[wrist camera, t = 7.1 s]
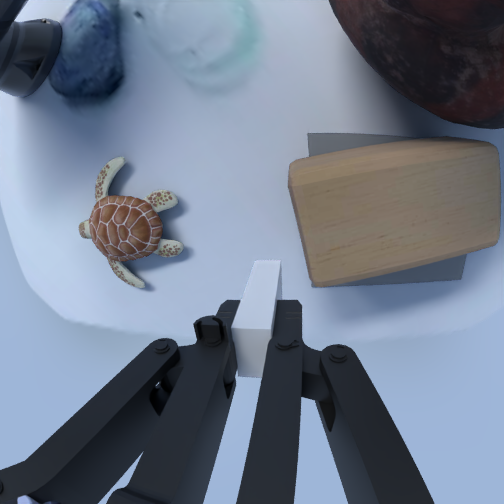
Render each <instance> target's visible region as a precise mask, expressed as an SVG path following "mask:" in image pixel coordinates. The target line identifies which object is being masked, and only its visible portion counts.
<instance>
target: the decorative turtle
mask: <svg viewBox="0 0 504 504" xmlns="http://www.w3.org/2000/svg"><path fill="white" fill-rule="evenodd" d="M124 164H125V159H124V157H117V158H114V159H112V160H110V161H109V162H108V163H107V164H106V165H105V166H104V167H103V168H102V170H101V171H100V173H99V174H98V177H97V180H96V188H95V198H96V202H97V203H96V205H95V206H94V208H93V210H92V213H91V216H90V218H89V220H86V221H84V222H82V223H80V224H79V233H80V235H81V237H82V238H87V239H89V238H90V239H91V238H92V241H93V242H94V244H95V246H96V247H97V248H98V249H99V250H100V251H101V252H102V253H103V255H105V256H106V257H107V259H108V262H109V264H110V266H111V268H112V270H113V272H114V273H115V274H116V275H117V276H118V277H119V278H120V279H121V280H123V281H124V282H126V283H127V284H129V285H131V286H134V287H138V288H144V287H145V282H144V281H143V280H141V279H139V278H137V277H136V276H135V275H134V274H132V273H131V272H130V271H129V270H128V269H127V268H126V267H125V266H124V265H123V264H122V262H121V261H128V260H136V259H138V258H143V257H144V256H148V255H150V254H152V253H155V254H157V255H160V256H162V257H167V258H168V257H174V256H177V255H179V254H180V253H181V252H182V250H183V248H184V247H183V244H182V243H181V242H178V241H175V240H166V239H162V238H161V236H162V232H163V228H162V227H163V224H162V222H161V219H160V217H159V215H158V214H157V213H158V212H160V211H163V210H167V209H170V208H172V207H174V206H176V205H177V203H178V199H177V197H176V195H175V194H174V193H172V192H170V191H167V190H157V191H154V192H152V193H150V194H149V195H148V196H146V197H145V198H144V199H143V200H141V199H139V198H134V197H132V196H117V195H113V196H108V189H109V186H110V184H111V182H112V180H113V178H114V176H115V175H116V173H117V172H118V171H119V170H120V169H121V168H122V167H123V166H124Z"/></svg>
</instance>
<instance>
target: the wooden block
mask: <svg viewBox="0 0 504 504" xmlns="http://www.w3.org/2000/svg"><path fill="white" fill-rule="evenodd" d="M288 188H289V192H290V196H291V200H292V204H293V208H294V212H295V216H296V220H297V225H298V229H299V233H300V237H301V242H302V246H303V251H304V255H305V260H306V264H307V269H308V274H309V278H310V280H311V281H312V282H313V284H314V285H315V286H316V287H327V286H332V285H337V284H342V283H347V282H352V281H356V280H361V279H366V278H370V277H375V276H379V275H384V274H388V273H392V272H397V271H401V270H405V269H409V268H414V267H418V266H422V265H426V264H430V263H433V262H437V261H441V260H445V259H449V258H452V257H456V256H460V255H463V254H467V253H471V252H474V251H478V250H481V249H484V248H488V247H491V246H494V245H495V244H496V243H497V242H498V239H499V234H500V216H501V180H500V163H499V153H498V150H497V148H496V147H495V146H494V145H492V144H491V143H489V142H485V141H479V140H472V139H465V138H458V137H449V136H443V137H432V138H423V139H414V140H406V141H398V142H391V143H384V144H377V145H371V146H365V147H359V148H353V149H347V150H342V151H336V152H331V153H326V154H321V155H316V156H312V157H307V158H302V159H298V160H295V161H294V162H292V163H291V164H290V166H289V174H288Z"/></svg>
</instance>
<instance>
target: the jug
mask: <svg viewBox="0 0 504 504" xmlns="http://www.w3.org/2000/svg"><path fill="white" fill-rule="evenodd" d="M329 2H330V5H331V7H332V10H333V12H334V14H335V16H336V18H337V19H338V21H339V23H340V25H341V26H342V28H343V30H344V31H345V33H346V34H347V36H348V37H349V39H350V40H351V42H352V43H353V44H354V46H355V47H356V49H357V50H358V51H359V53H360V54H361V55H362V57H363V58H364V59H365V60H366V61H367V63H368V64H369V65H370V66H371V67H372V68H373V69H374V70H375V71H376V72H377V73H378V74H379V75H381V76H382V77H383V78H384V79H385V80H386V81H387V82H388V84H389V85H390V86H392V87H393V88H394V89H396V90H397V91H398V92H399V93H401V94H402V95H404V96H405V97H407V98H408V99H410V100H411V101H412V102H414V103H415V104H417V105H419V106H421V107H423V108H424V109H426V110H428V111H429V112H431V113H433V114H435V115H437V116H438V117H440V118H442V119H444V120H447V121H450V122H453V123H457V124H462V125H467V126H471V127H477V128H486V129H499V128H504V0H329Z"/></svg>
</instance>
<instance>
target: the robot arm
mask: <svg viewBox="0 0 504 504" xmlns="http://www.w3.org/2000/svg"><path fill="white" fill-rule="evenodd" d="M27 2H28V0H0V90H1V91H3V92H5V93H8V94H10V95H12V96H16V97H18V96H28V95H30V94H32V93H33V92H34V91H35V90H36V89H37V88H38V87H39V86H40V85H41V84H42V82H43V81H44V80H45V78H46V76H47V75H48V73H49V71H50V69H51V68H52V66H53V63H54V61H55V59H56V56H57V54H58V50H59V47H60V43H61V36H62V31H61V26H60V24H59V23H58V22H57V21H54V20H51V19H37V20H30V21H24V22H15V21H14V20H15V19H16V17H17V16H18V14H19V13H20V11H21V10H22V9H23V7H24V6H25V4H26V3H27ZM194 329H195V333H196V337H197V341H196V343H195V344H193V345H188V346H179V347H178V345H177V343H176V341H174V340H172V339H169V338H162V339H158V340H155V341H153V342H152V343H150V344H149V345H148V346H147V347H146V348H145V349H144V350H143V351H142V352H141V353H140V354H139V355H138V356H136V357H135V358H134V359H133V360H132V361H131V362H130V363H129V364H128V365H127V366H126V367H125V368H124V369H122V370H121V371H120V373H118V374H117V375H116V376H115V377H114V378H113V379H112V380H111V381H110V382H109V383H108V384H106V385H105V386H104V387H103V388H102V389H101V390H100V391H99V392H98V393H97V394H96V395H95V396H94V397H93V398H91V399H90V400H89V401H88V402H87V403H86V404H85V405H84V406H83V407H82V408H81V409H80V410H79V411H78V412H76V413H75V414H74V415H73V416H72V417H71V418H70V419H69V420H68V421H67V422H66V423H65V424H64V425H63V426H62V427H60V428H59V429H58V430H57V431H56V432H55V433H54V434H53V435H52V436H51V437H50V438H49V439H48V440H47V441H45V443H43V445H41V446H40V447H39V448H38V449H37V450H36V451H35V452H34V453H33V454H32V455H31V456H30V457H28V458H27V459H26V460H25V461H23V462H21V463H18V464H16V465H13V466H10V467H8V468H5V469H2V470H0V504H98V503H99V502H100V501H101V499H102V498H103V497H104V496H105V495H106V494H107V493H108V492H109V491H110V489H111V488H112V487H113V486H114V485H115V484H116V482H117V481H118V480H119V479H120V478H121V477H122V476H123V475H124V473H125V472H126V471H127V470H128V469H129V467H130V466H131V465H132V464H133V463H134V462H135V460H136V459H137V458H138V457H139V456H140V455H141V453H142V452H143V454H142V456H141V458H140V460H139V462H138V464H137V466H136V469H135V471H134V473H133V475H132V477H131V479H130V482H129V483H128V485H127V486H126V487H124V488H120V489H117V490H115V491H114V492H113V493H112V494H111V496H110V497H109V499H108V501H107V503H106V504H203V502H204V498H205V495H206V491H207V488H208V484H209V481H210V478H211V474H212V471H213V467H214V464H215V460H216V457H217V453H218V450H219V446H220V442H221V439H222V435H223V431H224V428H225V424H226V421H227V417H228V413H229V409H230V406H231V402H232V399H233V395H234V391H235V387H236V379H235V375H236V371H238V376H242V377H256V378H262V380H261V386H260V391H259V397H258V402H257V407H256V413H255V418H254V423H253V428H252V433H251V438H250V443H249V448H248V452H247V457H246V462H245V466H244V471H243V476H242V480H241V485H240V489H239V494H238V498H237V502H236V504H294V496H295V486H296V485H295V484H296V475H297V462H298V449H299V434H300V415H301V397H304V398H308V399H312V400H315V403H316V406H317V409H318V412H319V415H320V418H321V421H322V424H323V427H324V430H325V433H326V436H327V439H328V442H329V445H330V448H331V451H332V454H333V457H334V460H335V464H336V467H337V470H338V473H339V476H340V479H341V482H342V485H343V488H344V491H345V495H346V498H347V501H348V504H434V501H433V499H432V497H431V495H430V493H429V491H428V489H427V486H426V485H425V482H424V480H423V478H422V476H421V474H420V472H419V470H418V468H417V466H416V464H415V462H414V460H413V458H412V456H411V454H410V452H409V450H408V448H407V446H406V444H405V442H404V441H403V439H402V437H401V435H400V433H399V431H398V429H397V427H396V425H395V424H394V422H393V420H392V418H391V416H390V414H389V412H388V411H387V408H386V407H385V405H384V403H383V401H382V399H381V398H380V396H379V394H378V392H377V390H376V388H375V387H374V385H373V383H372V381H371V380H370V378H369V376H368V374H367V373H366V371H365V369H364V368H363V366H362V364H361V362H360V360H359V359H358V357H357V355H356V353H355V352H354V351H353V350H352V349H351V348H349V347H348V346H345V345H340V344H336V345H330V346H328V347H326V348H325V349H323V350H322V351H318V350H314V349H311V348H310V347H308V346H307V345H305V344H304V342H303V340H302V305H301V304H300V302H299V301H298V300H282V279H281V260H255V262H254V265H253V268H252V271H251V273H250V276H249V279H248V282H247V285H246V287H245V290H244V293H243V296H242V299H241V300H226V301H225V302H224V303H223V304H221V305H220V308H219V310H218V312H217V314H216V316H214V315H212V316H205V317H202V318H200V319H198V320H196V321H195V323H194ZM158 382H159V384H158V385H157V383H158ZM156 385H157V386H156Z"/></svg>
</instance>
